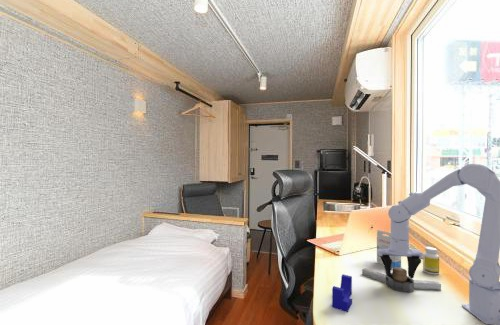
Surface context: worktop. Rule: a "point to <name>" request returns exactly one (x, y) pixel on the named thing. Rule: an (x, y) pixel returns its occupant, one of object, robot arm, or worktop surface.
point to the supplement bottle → (431, 261)
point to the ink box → (385, 243)
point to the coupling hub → (399, 274)
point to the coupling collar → (402, 286)
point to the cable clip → (342, 294)
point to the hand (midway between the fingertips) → (399, 276)
